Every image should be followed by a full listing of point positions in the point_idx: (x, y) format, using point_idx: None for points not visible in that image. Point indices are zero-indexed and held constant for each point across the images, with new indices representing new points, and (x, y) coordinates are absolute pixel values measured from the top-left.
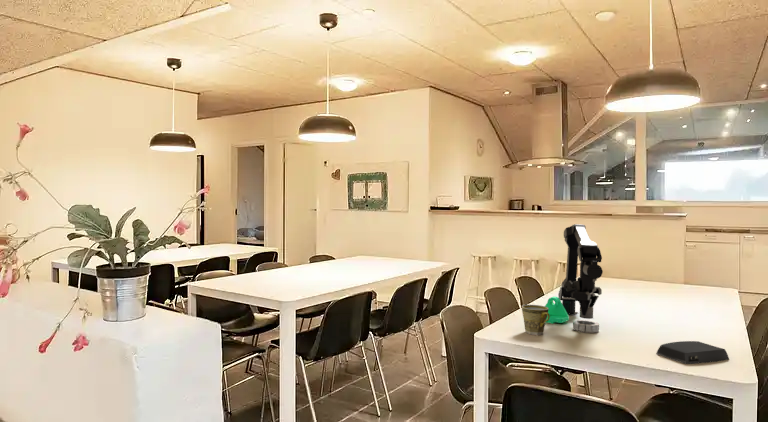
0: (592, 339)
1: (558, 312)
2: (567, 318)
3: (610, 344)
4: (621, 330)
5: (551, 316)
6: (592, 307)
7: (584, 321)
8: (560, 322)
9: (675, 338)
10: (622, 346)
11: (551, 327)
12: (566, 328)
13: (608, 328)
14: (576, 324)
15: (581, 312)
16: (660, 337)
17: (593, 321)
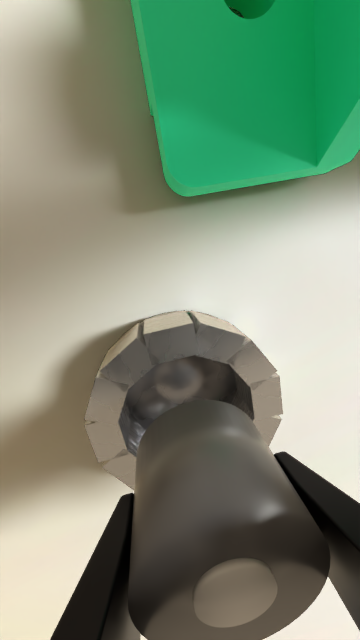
0: (3, 525)
1: (341, 11)
2: (306, 172)
3: (8, 603)
4: (333, 480)
5: (200, 8)
6: (295, 615)
7: (239, 375)
8: (168, 182)
9: (351, 620)
10: (32, 633)
11: (6, 193)
12: (99, 290)
13: (328, 429)
14: (91, 393)
15: (134, 498)
16: (326, 599)
17: (277, 422)
